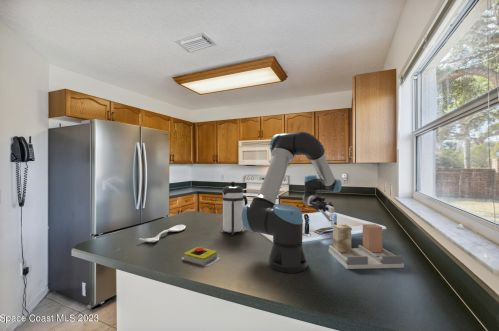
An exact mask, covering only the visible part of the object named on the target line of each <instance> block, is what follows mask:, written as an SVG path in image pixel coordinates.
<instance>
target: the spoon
mask: <svg viewBox="0 0 499 331" xmlns="http://www.w3.org/2000/svg"><path fill="white" fill-rule="evenodd" d="M185 229H186V225H185V224H177V225H174V226H172V227H170V228H168V229H165V230H163V231H161V232H159V233H158V234H157V235H155V237H149V238H141V237H140V238H138V241H142V242H146V243H155V242H158V241H159V240H160V237H161V236H162V235H164V234H165V233H168V232H173V233H178V232H181V231H183V230H185Z"/></svg>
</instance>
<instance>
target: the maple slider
mask: <svg viewBox="0 0 499 331" xmlns="http://www.w3.org/2000/svg"><path fill="white" fill-rule="evenodd" d="M332 247H334V248H335V249H336V250H337V251H338V252H339V253H351V248H352V227H351V226H350V225H347V224H332Z"/></svg>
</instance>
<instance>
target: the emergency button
mask: <svg viewBox="0 0 499 331" xmlns="http://www.w3.org/2000/svg"><path fill="white" fill-rule="evenodd" d="M217 253H218V252H217V250H213V249H209V248H205V247H201V246H196V247H194V248H192V249H190V250H187V251H186V252H184V253H183V256H182V257H181V258H180V260H182V261H186V262H189V263H192V264H196V265H200V266H204V267H210V266H212V265H213V264H215V263H217V262H218V261H220V260H221V259H222V257H219V256H217V255H218V254H217Z"/></svg>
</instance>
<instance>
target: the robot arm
mask: <svg viewBox="0 0 499 331" xmlns="http://www.w3.org/2000/svg"><path fill="white" fill-rule="evenodd" d="M269 145H270V146H269V150H270V153H271V156H272V159H271V161H270V163H269V166H268V169H267V171H266V174H265V176H264V179H263V182H262V184H261V185H260V189H259V192H258V194H257V195H256V196H253V199H252V201H251V203H248V204H247V205H245V204H244V205H243V211H242V222H243V227H244V229H245V230H248V231H251V232H253V233H258V234H264V235H267V236H268V235H269V236H272V246H271V250H270V253H269V255H268V266H269V267H270V268H271V269H273V270H275V271H278V272H282V273H287V274H295V273H296V274H297V273H301V272H303V271H305V270H306V269H307V268H308V267H307V266H308V260H307V257H306V253H305V250H304V246H303V230H304V229H303V228H304V227H303V225H304V219H303V212H302V210H301V209H300V208H299V207H297V206H294V205H290V204H286V203H285V204H283V203H276V201H277V199H278V196H279V193H280V190H281V187H282V183H283V181H284V178H285V175H286V173H287V169H288V168H289V163H291V162H293V160H294V158H295V156H305V158H307V159H308V160H309V161H310V162H311V164H312V167H313V168H314V170H315V172H316V174H317V175H318V177H317V175H311V174H308V175H305V176H304V182H303V183H304V185H303V186H304V192H303V193H304V194H303V196H302V201H303V203H304V204H305V205H307V206H308V207H309V208H312V209H313V210H317V211H322V212H328V213H330V214H335V207H334V204H333V203H332V202H331V201H330V202H326V201H324V198H322V197H321V196H318V195H317V193H318V192H332V193H340V192H341V190H342V185H343V184H342V180H341V179H338V178H335V176H334V174H333V171H332V168H331V167H330V164H329V162H328V159H327V157H326V156H325V152H326V151H325V148H324V144H322V142H321V141H320V139H318V138H317V137H316V136H315V135H313V134H311V133H309V132H307V131H297V132H296V131H295V132H281V133H277V134H275V135H273V136H272V138H271V140H270V143H269Z"/></svg>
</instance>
